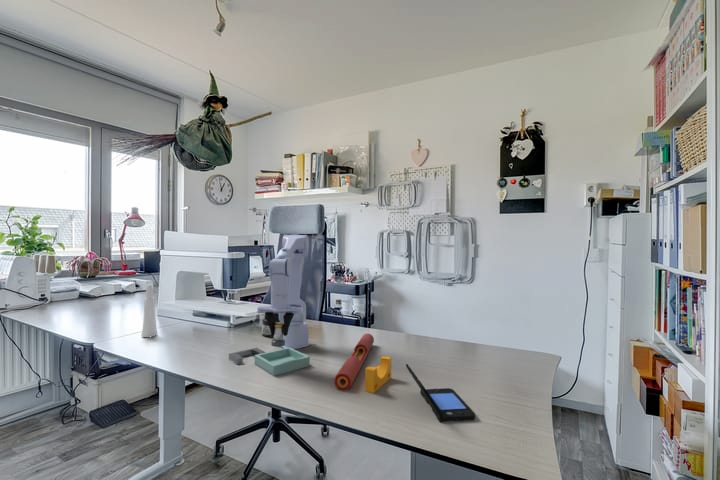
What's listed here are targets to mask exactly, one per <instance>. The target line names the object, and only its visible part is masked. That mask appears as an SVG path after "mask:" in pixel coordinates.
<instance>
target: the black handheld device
mask: <svg viewBox="0 0 720 480" xmlns="http://www.w3.org/2000/svg"><path fill="white" fill-rule="evenodd" d="M405 367H406V369H407V370H408V372H409V374H410V375H411V377H412V378H413V380H414V381H415V382H416V384H417V386H418V387H419V389H420V391H419V393H420V395H421V397H422V399H424V401H425V402H426V404H428V405H429V406H430V408H431V411H432V413H433V414H434V415H435V417H436V419H437V421H438V422H439V423H443V422H446V423H447V422H461V421H462V422H463V421H464V420H465V421H473V420H475V419H476V413H475V411H473V410H472V408H471V407H470V406H469V405H468V404H467V403H466V402H465V401H464V400H463V399H462V398H461V397H460V395H459V394H458V393H457V392H456V391H455V390H454V389H453V388H449V387H447V388H427V389H426V387H425V386H424V384H423V383H422V382H421V380H420V379H419V377H418V376H417V375H416V374H415V371H413V370H412V368H411V367H410V366H409V364H408V363H405Z"/></svg>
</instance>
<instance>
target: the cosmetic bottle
mask: <svg viewBox="0 0 720 480" xmlns="http://www.w3.org/2000/svg"><path fill="white" fill-rule="evenodd" d="M154 289H155V287H154V286H153V283H152V284H151V283H149V284H146V287H145V298H144V303H143V305H144V307H143V318H142V319H143V320H142V321H143V323H142V329H141V335H140V336H142V337H141V338H143V337H149V338H151V337H150V336H154V337H156V336H155V335H157V334H158V329H157V317H156V298H155V296H154V291H155V290H154ZM157 336H158V335H157Z"/></svg>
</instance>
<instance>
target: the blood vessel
mask: <svg viewBox="0 0 720 480" xmlns="http://www.w3.org/2000/svg"><path fill="white" fill-rule="evenodd" d="M374 343H375V338H374V337H373V335H372V334H371V333H364V334H363V335H362V336H361V338H360V339H359V340H358V342H357V344H356V345H355V347H354V351H353V352H352V354H350V355H351V356H349V357H348V358H346V360H345V361H344V363H343V364H342V367H341V368H340V369H339V370H338V372H337V373H336V375H335V377H334V379H333V380H334V381H333V382H334V385H335V387H336V389H337V390H341V391H348V390H350V388H351V387H352V385H353V383H354V380H355V379H356V376H357V375H358V374H359V372H360V369H361V367H362V365H363V363H364V362H365V359H366V358H367V357H368V354H369V352H370V350H371V348H372V346H373V345H374Z"/></svg>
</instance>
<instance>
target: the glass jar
mask: <svg viewBox="0 0 720 480" xmlns="http://www.w3.org/2000/svg"><path fill="white" fill-rule="evenodd" d="M283 337H284V323H282V322H276V323H274V337H273V339H272V340H271V342H270V343H271V345H270V346H272V347H275V348H276V347H277V348H278V347H279V348H280V347H281V348H283V347H282V346H284V345H285V340H284V339H283Z"/></svg>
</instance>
